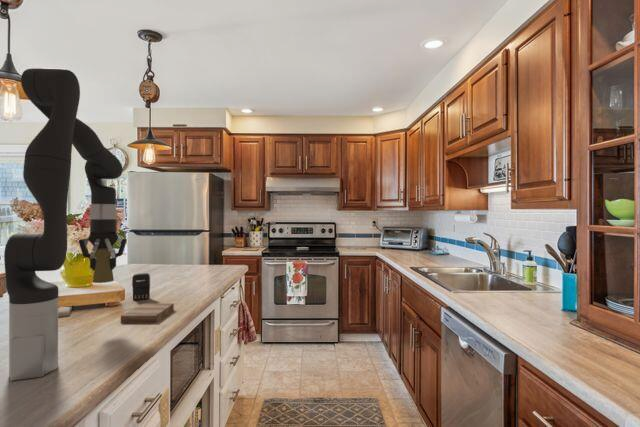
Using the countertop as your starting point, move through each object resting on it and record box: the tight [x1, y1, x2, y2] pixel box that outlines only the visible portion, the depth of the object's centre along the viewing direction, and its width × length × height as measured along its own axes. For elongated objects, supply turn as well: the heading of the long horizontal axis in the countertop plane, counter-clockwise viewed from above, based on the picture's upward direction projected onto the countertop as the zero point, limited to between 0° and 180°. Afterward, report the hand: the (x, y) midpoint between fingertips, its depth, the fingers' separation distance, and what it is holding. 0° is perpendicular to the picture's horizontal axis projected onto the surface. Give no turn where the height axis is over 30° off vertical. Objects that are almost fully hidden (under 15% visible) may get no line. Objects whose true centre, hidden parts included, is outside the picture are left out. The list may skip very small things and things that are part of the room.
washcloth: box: [58, 307, 73, 318], centre depth 135 cm, size 12×18×3 cm, turn 31°
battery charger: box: [131, 272, 151, 301], centre depth 155 cm, size 7×4×11 cm, turn 111°
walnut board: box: [120, 303, 175, 324], centre depth 131 cm, size 16×12×2 cm
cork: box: [92, 248, 115, 284], centre depth 117 cm, size 6×6×11 cm
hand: (103, 269), depth 117 cm, fingers closed on cork, 4 cm apart
